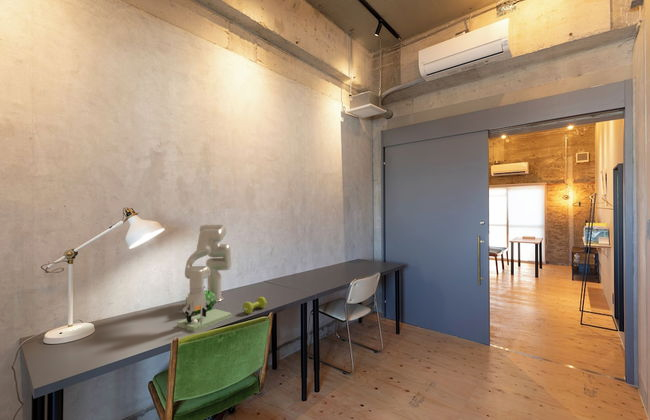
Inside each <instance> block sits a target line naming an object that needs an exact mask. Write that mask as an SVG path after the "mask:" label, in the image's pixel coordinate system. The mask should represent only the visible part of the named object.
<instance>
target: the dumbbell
mask: <svg viewBox="0 0 650 420" xmlns="http://www.w3.org/2000/svg"><path fill="white" fill-rule="evenodd" d="M267 303H268V302H267V300H266V298H265V297H264V296H258V297H257V298H256V302H253V303H252V302H251V301H245V302H244V303H243V305H242V309H243V312H244V313H245V314H247V313H248V314H249V315H250V314H252V313H253V311H254V309H255V308H259V309H264V308H266V306H267ZM248 314H247V315H248Z"/></svg>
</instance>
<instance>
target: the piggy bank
mask: <svg viewBox="0 0 650 420" xmlns="http://www.w3.org/2000/svg"><path fill="white" fill-rule="evenodd" d="M204 292H205V297H206V300H208V301H210V303H209V306H208V308H207V310H206V312H207V311H210V310H213V309H212V308H213V307H214V306H215V303H216V302H215V301H216V298H215V295H214V293H213V292H211V291H208V290H207V289H206V290H205V289H204ZM187 297H188V296H186V297H185V307H186V306H187ZM193 313H194V314H196V315H198V314H200V313H201V309H200V310H197V311H193Z"/></svg>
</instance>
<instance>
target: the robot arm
mask: <svg viewBox="0 0 650 420" xmlns="http://www.w3.org/2000/svg"><path fill="white" fill-rule="evenodd" d="M226 234H227V227H226V226H225V225H224V224H202V225H200V227H199V234H198V235H199V236H198V239H197V245H196V250H195V251H194V252H193V253H191V255H190V256H189V257H188V258H187V261H186V263H185V267H184V268H185V269H184V277H185V278H186V279H187V280H188V279H189V293H187V296H186V297H187V306H186V305H185V306H184V307H183V308H182V309H181V310H182V311H183V313H184V315H186V319H187V322H191V317H192V313H194V311H195V306H198V305H201V304H202V316H203V317H206V310H207V308H208V306H209V303H210V301H208V300H206V297H205V292H204V290H205V289H206V286H204V279H207V291H211V292H213V293H214V295H215V298H216V301H215V303H220V302H222V301H224V297H223V296H222V275H221V273H220V271H229V270H231V268H232V257H231V255H232V254H231V246H230V245H229V244H227V243H220V242H222V241H223V240H224V238H225V237H226ZM205 256H208V257H210V258H207V260H206V262H205V265H194V263H195V262H196V261H197V260H199V259H201V258H203V257H205Z"/></svg>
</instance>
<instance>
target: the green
mask: <svg viewBox="0 0 650 420" xmlns="http://www.w3.org/2000/svg"><path fill="white" fill-rule="evenodd" d="M200 309H201V310H200ZM197 310H200V313H198V314H196V315H193V316H191V320H193V319H197V321H198V323H194V324H190V322H187V318H185V319H181V320H179V321H177V324H176V325H177V327H178V328H182V329H184V330H186V331H187V330H188V331H190V332H193V333H195V332H199V331H201V330H203V329H206V328H208V327H211V326H213V325H217V324H218V323H221V322H223V321H226V320H229V319H231V318H233V316H232V314H233V313H231V312H229V311H226V310H225V311H224V310H221V309H217V308H213V309H211V310H210V311H207V312H206V317H203V316H202V304H201V305H198V306H195V311H197Z"/></svg>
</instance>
